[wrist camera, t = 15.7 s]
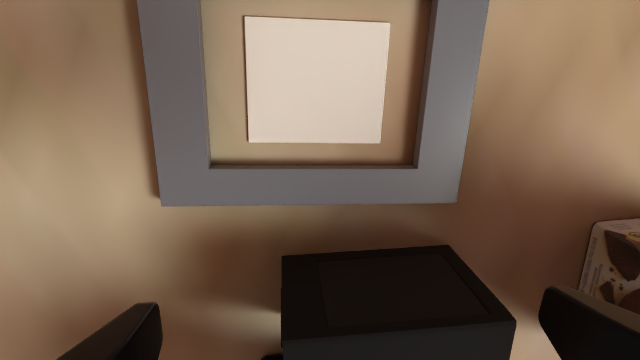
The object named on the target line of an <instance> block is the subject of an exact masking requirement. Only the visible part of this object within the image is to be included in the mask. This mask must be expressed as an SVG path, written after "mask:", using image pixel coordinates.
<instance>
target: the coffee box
mask: <svg viewBox="0 0 640 360" xmlns="http://www.w3.org/2000/svg"><path fill="white" fill-rule="evenodd" d="M578 291H580V292H583V293H585V294H588V295H590V296H593V297H595V298H598V299H600V300H603V301H605V302H608V303H610V304H613V305H616V306H618V307H621V308H623V309H626V310H628V311H631V312H633V313H636V314H638V315H640V218H638V219H626V220H613V221H603V222H597V223H596V224H595V225H594V226H593V229H592V233H591V238H590V242H589V247H588V251H587V255H586V260H585V264H584V268H583V272H582V276H581V281H580V285H579V289H578Z"/></svg>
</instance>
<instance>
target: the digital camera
mask: <svg viewBox="0 0 640 360" xmlns="http://www.w3.org/2000/svg"><path fill="white" fill-rule="evenodd" d="M515 329H516V319H515V318H514V317H513V316H512V315H511V313H510V312H509V311H508V310H507V309H506V308H505V306H504V305H503V304H502V303H501V302H500V301H499V300H498V299H497V298H496V297H495V295H494V294H493V293H492V292H491V291H490V290H489V289H488V288H487V287H486V286H485V284H484V283H483V282H482V281H481V280H480V279H479V278H478V277H477V276H476V275H475V274H474V272H473V271H472V270H471V269H470V268H469V267H468V266H467V265H466V264H465V263H464V261H463V260H462V259H461V258H460V257H459V256H458V255H457V254H456V253H455V252H454V250H453V249H452V248H451V247H450V246H449V245H439V246H424V247H409V248H394V249H379V250H364V251H349V252H334V253H319V254H304V255H290V256H282V288H281V347H282V348H283V360H509V359H510V354H511V349H512V344H513V339H514V334H515Z"/></svg>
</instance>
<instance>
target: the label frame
mask: <svg viewBox="0 0 640 360" xmlns="http://www.w3.org/2000/svg"><path fill="white" fill-rule="evenodd" d="M137 6H138V15H139V23H140V32H141V40H142V48H143V57H144V65H145V74H146V82H147V90H148V99H149V107H150V115H151V124H152V132H153V141H154V149H155V157H156V166H157V174H158V183H159V191H160V199H161V206H244V205H330V204H415V203H456V201H457V195H458V189H459V183H460V177H461V171H462V165H463V159H464V152H465V146H466V140H467V134H468V128H469V122H470V116H471V110H472V104H473V98H474V91H475V85H476V79H477V73H478V67H479V61H480V55H481V49H482V43H483V36H484V30H485V24H486V18H487V12H488V6H489V0H432V4H431V13H430V21H429V30H428V38H427V47H426V55H425V64H424V72H423V81H422V89H421V98H420V106H419V115H418V123H417V132H416V140H415V149H414V157H413V165H211V153H210V139H209V124H208V110H207V95H206V80H205V66H204V51H203V37H202V22H201V7H200V0H137ZM389 35H390V23H382V22H359V21H337V20H315V19H292V18H270V17H248V16H245V41H246V71H247V101H248V132H249V142H257V143H380V139H381V128H382V116H383V105H384V93H385V81H386V70H387V58H388V46H389Z"/></svg>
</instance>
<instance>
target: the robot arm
mask: <svg viewBox="0 0 640 360" xmlns="http://www.w3.org/2000/svg"><path fill="white" fill-rule="evenodd" d="M538 318H539V322H540V325H541V327H542V328H543V330H544V332H545V333H546V335H547V337H548V338H549V340H550V342H551V343H552V345H553V347H554V348H555V350H556V351H557V353H558V355H559V356H560V358H561V360H640V315H638V314H636V313H633V312H631V311H628V310H626V309H623V308H621V307H618V306H616V305H613V304H610V303H608V302H605V301H603V300H600V299H598V298H595V297H593V296H590V295H588V294H585V293H583V292H580V291H578V290H575V289H573V288H570V287H568V286H550V287H547V288H546V290H545V292H544V295H543V299H542V302H541V306H540V310H539V314H538ZM162 339H163V333H162V325H161V318H160V310H159V306H158V304H157V303H155V302H148V303H137V304H135V305H133V306H132V307H130V308H129V309H127V310H126V311H125V312H123V313H122V314H120V315H119V316H117V317H116V318H115V319H113V320H112V321H110V322H109V323H107V324H106V325H105V326H103V327H102V328H100V329H99V330H97V331H96V332H95V333H93V334H92V335H90V336H89V337H87V338H86V339H85V340H83V341H82V342H80V343H79V344H77V345H76V346H75V347H73V348H72V349H70V350H69V351H67V352H66V353H65V354H63V355H62V356H60V357H59V358H57V359H56V360H158V357H159V353H160V350H161V346H162ZM261 360H283V355H277V356H265V357H263V358H262V359H261Z"/></svg>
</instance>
